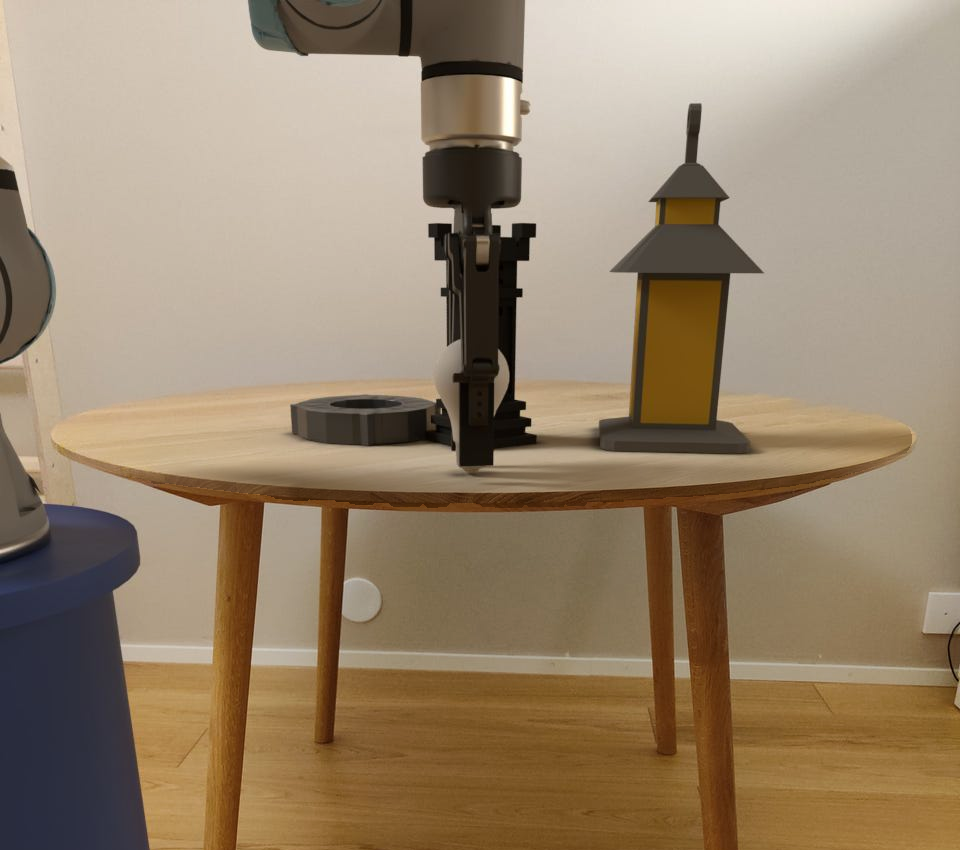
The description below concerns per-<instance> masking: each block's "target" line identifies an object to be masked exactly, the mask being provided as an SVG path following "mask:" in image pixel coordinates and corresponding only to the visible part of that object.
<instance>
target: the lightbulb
mask: <svg viewBox="0 0 960 850" xmlns="http://www.w3.org/2000/svg"><path fill="white" fill-rule="evenodd" d="M498 365H499V367H500V369H499V374H498V376H496V378H495V379H494V416H495V413H496V410H497V408H498V407H499V405H500V403H501V401H502V399H503V397H504V395H505V393H506V390H507V388H508V383H509V369H508V365H507V362H506V359H505V358H504V356H503V354H502V353H501V352H500V350H499V349H498ZM461 371H462V364H461V339H459V340H457V341H455V342H453V343H452V344H450V345H449V346H448V347H447V346H446V347H445V348H444V350H443V351H442V352H441V353H440V355H439V356H438V359H437V361H436V364H435V366H434V373H433V375H434V377H433V378H434V380H433V381H434V385H435V389H436V391H437V394H438V396H439V399H441V400H442V402H443V404H444V406H445V407H446V409H447V412H448V414H449V417H450V420H451V426H452V433H453V441H454V442H455V443H456V451H455V457H456V458H455V461H456V465H457V467H459V468H460V469H462V470H463V471H464V472H465V473H467V474H469V475H471V474H476V473H479V471H480V470H481V469H483V468H485V467H486V466H460V465H459V383H453V380H452V376H453V374H454V373H460V372H461Z"/></svg>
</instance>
